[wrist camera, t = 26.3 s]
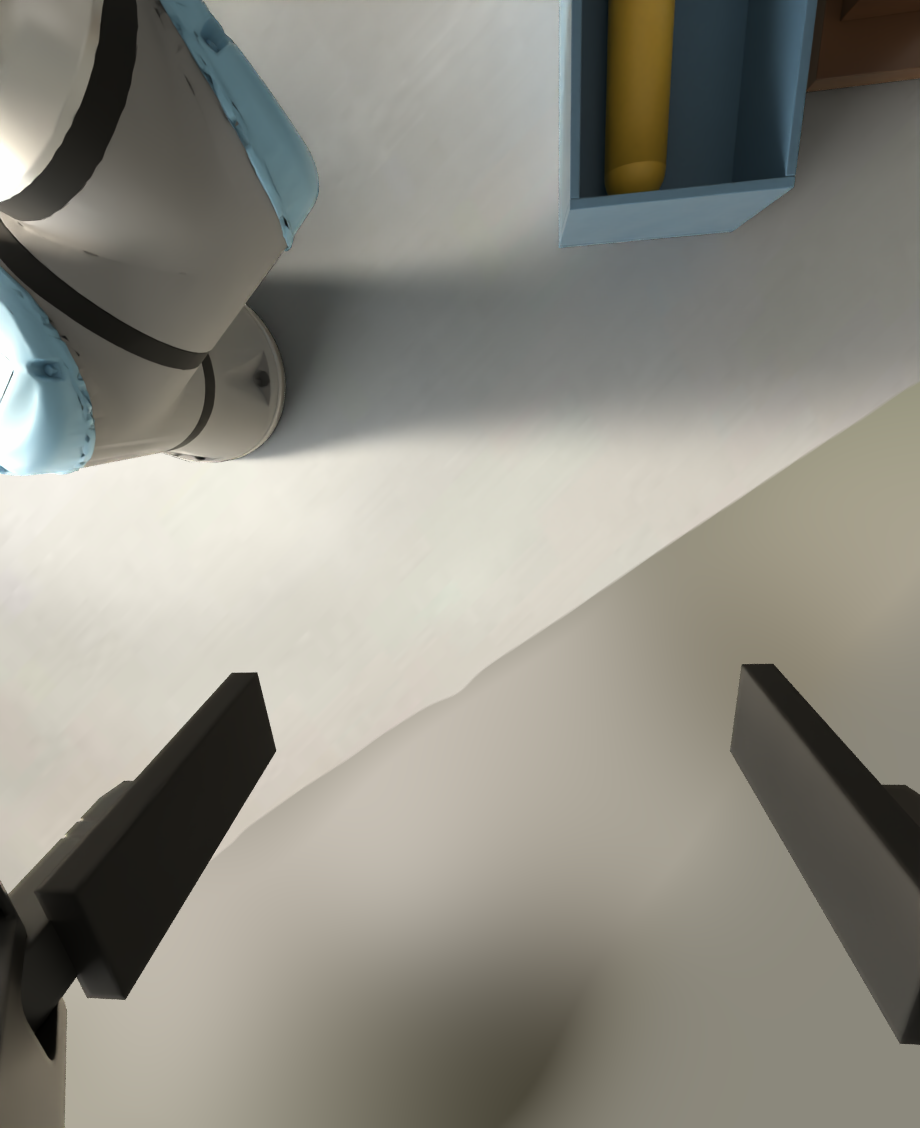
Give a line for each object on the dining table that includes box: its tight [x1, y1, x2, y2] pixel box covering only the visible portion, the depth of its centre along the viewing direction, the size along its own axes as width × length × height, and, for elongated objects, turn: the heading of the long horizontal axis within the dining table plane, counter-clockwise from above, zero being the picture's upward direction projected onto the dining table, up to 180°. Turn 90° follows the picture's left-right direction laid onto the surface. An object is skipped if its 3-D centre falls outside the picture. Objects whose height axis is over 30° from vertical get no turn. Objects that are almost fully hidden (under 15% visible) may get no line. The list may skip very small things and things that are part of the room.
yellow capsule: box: [604, 0, 675, 195], centre depth 35 cm, size 20×4×4 cm
